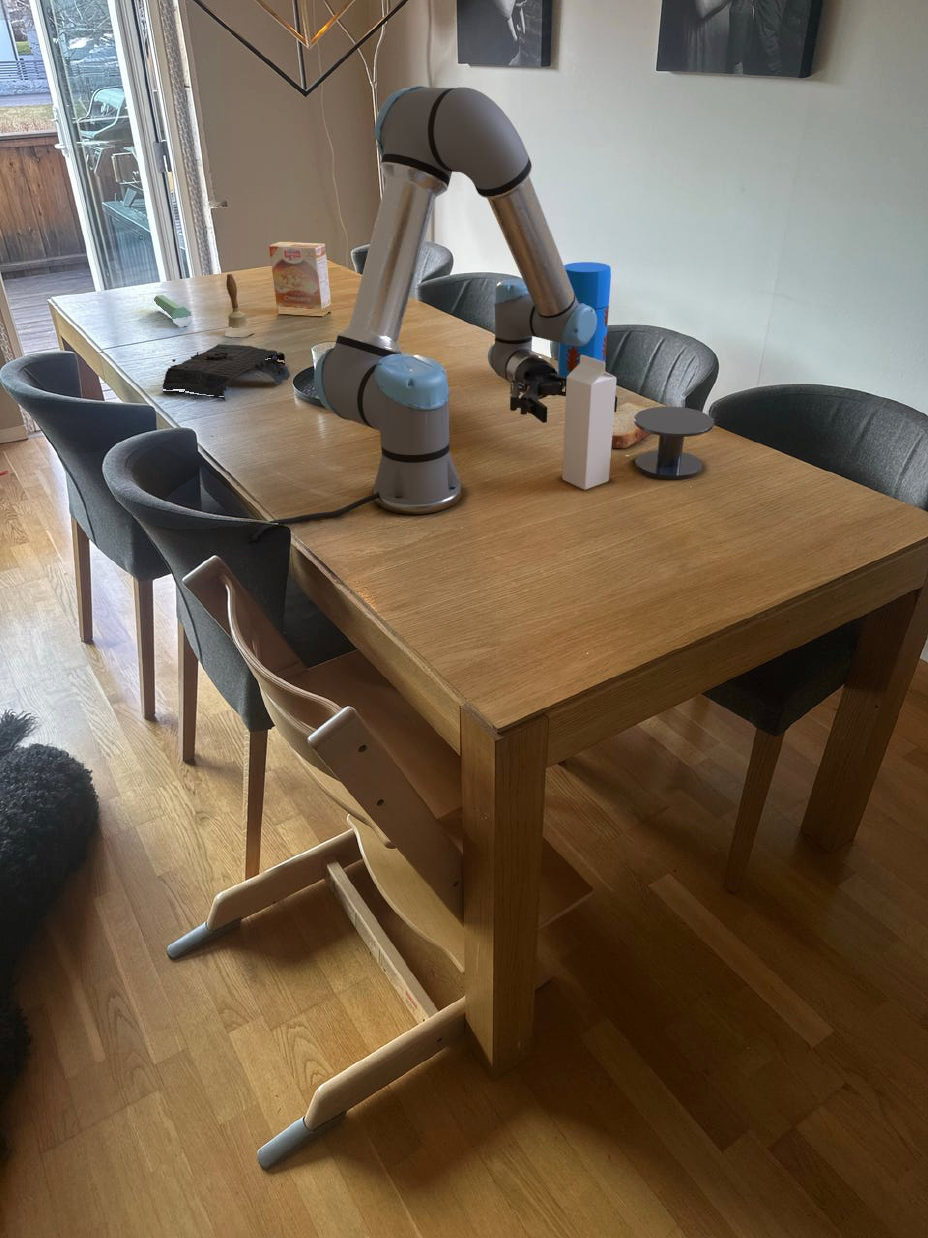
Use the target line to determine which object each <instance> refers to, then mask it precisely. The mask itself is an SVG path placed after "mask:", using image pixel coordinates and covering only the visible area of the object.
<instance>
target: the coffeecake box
mask: <svg viewBox="0 0 928 1238" xmlns="http://www.w3.org/2000/svg"><path fill="white" fill-rule="evenodd" d="M268 248H269V249H268V250H269V257H270V264H271V265H270V266H271V272H272V273H271V274H272V281H273V288H274V295H275V303H276V307H277V306H280V307H293V308H306V309H323V308H325V307H327V306H329V305H330V304H331V305H332V303H331V302H332V301H331V291H330V290H331V289H330V281H329V270H328V261H327V260H328V259H327V250H326V243H319V242H317V243H316V242H296V241H295V242H293V241H277V242H275V243H272V244H269V245H268Z"/></svg>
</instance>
